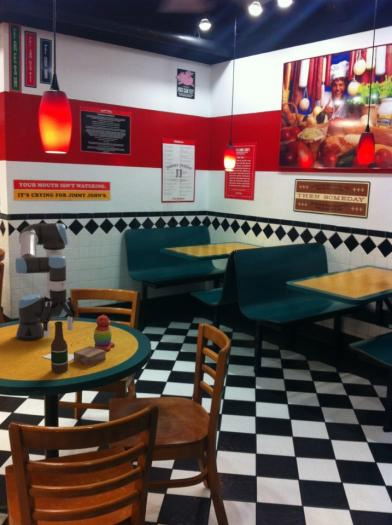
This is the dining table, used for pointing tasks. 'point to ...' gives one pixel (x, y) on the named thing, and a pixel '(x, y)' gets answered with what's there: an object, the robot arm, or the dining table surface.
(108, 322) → the stacking bear
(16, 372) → the dining table surface
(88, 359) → the walnut base brick
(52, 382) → the dining table surface
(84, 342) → the dining table surface
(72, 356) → the page
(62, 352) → the beer bottle
